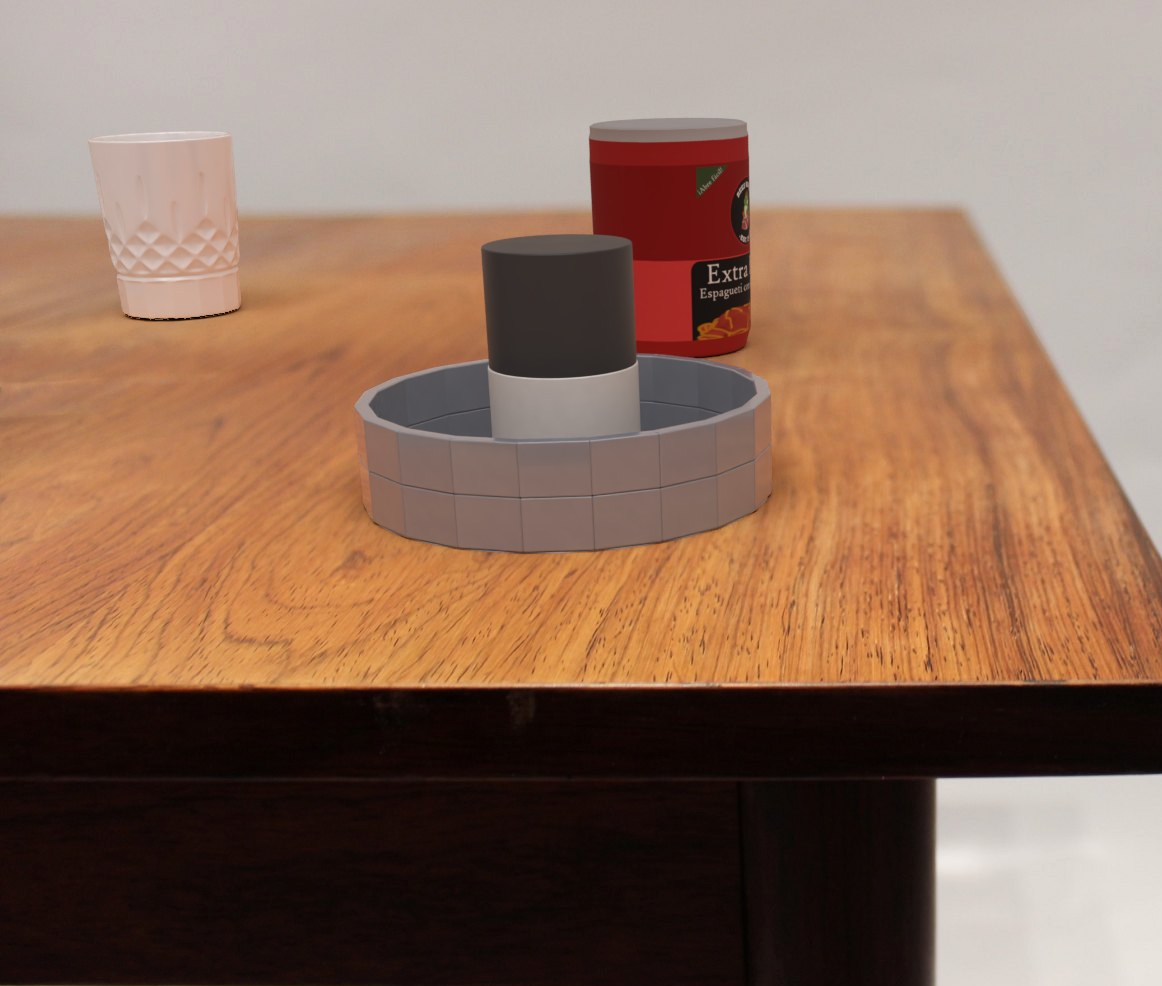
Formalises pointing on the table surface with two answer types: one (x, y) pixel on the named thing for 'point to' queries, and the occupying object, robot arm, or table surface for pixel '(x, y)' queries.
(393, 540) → the table surface
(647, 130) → the canned food
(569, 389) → the container
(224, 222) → the white cup
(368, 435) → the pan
